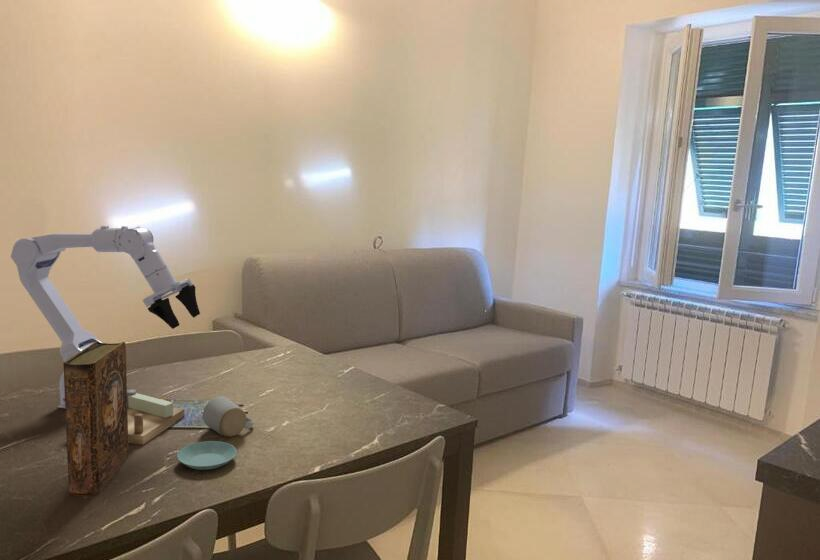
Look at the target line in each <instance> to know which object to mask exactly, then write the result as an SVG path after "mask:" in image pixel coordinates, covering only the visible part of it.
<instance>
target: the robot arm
mask: <svg viewBox="0 0 820 560" xmlns="http://www.w3.org/2000/svg"><path fill="white" fill-rule="evenodd" d="M71 248H93V249H94V250H95V251H96V252H98V253H126V254H129V256H130V257H131V258H132V260H133V261H134V263H135V264H136V266H137V267H138V269H139V271H140V272H141V274H142V275H143V277H144V279H145V280H146V282H147V283H148V285H149V286H150V288H151V290H152V292H153V293H152V294H150V295H148V296H146V297H145V298H143V299H142V302H143V303H144V305H145V306H146V307H147V310H148V311H149V313H151V314H153V315H155V316H157V317H158V318H160V320H162V321H163V322H165V323H166V324H167V326H169V327H170V328H171V329H172V330H173V329H175V328H176V329H177V327H179V326H180V322H179V320H178V317H177V316H176V315H175V313H174V310H173V308H172V306H171V305H172V304H171V301H170V298H169V297H170V296H173V295H175V294H177V293H178V294H177V295H175V298H176V299H177V300H178V301H179V302H180V303H181V304H182V305H183V306H184V307H185V309H186V310H187V311H188V313H189V315H190V316H191V317H192V318H196V317H197V316H199V315H201V312H200V309H199V305H198V302H197V296H196V295H197V294H196V286H195V284H193V283H192V281H191V279H190V278H189V277H188V278H186V279H183V280H180V281H179V280H178V281H177V279H176V278H175V277H174V276H175V275H173V273H172V271H171V270H170V268H169V267H168V265H167V264H166V262H165V260H164V259H163V257H162V255H161V253H160V252H159V250H158V249H157V247H156V246H155V244H154V235H153V233H152V231H150V230H149V229H148V228H146V227H143V226H136V227H132V228H131V227H130V228H129V227H128V226H127V225H121V227H115V228H114V227H111V228H110V227H109V225H103V226H102V225H101V226H100V227H99V228H96V229H94V230H93V231H92V232H91V233H80V232H79V233H76V232H75V233H73V232H71V233H69V232H67V233H66V232H58V233H52V234H46V235H40V236H33V237H30V238H20V239H18V240H16V241H15V243H14V245H13V247H12V249H11V254H10V258H11V259H12V261H13V262H14V264H15V266H16V268H17V272H18V277H19V280H20V283H21V285H22V286H23V287H24V289H25V291H26V292H27V293H28V295H29V297H31V299H32V300H33V302H34V303H35V304H36V306H37V308H38V309H39V310H40V312H41V314H42V315H43V317H44V318H45V319H46V321H47V322H48V324H49V325H50V327H51V328H52V329H53V331H54V333H55V334H56V335H57V336H58V338H59V340H60V341H61V345H60V349H59V354H60V355H61V357H62V360H63V362H65V361H66V360H68V359H69V358H71V357H72V356H74V355H76V354H77V353H79V352H80V351H82V350H83V349H85V348H86V347H88V346H90V345H91V344H93V343H94V342H96V341H99V343H103V342H102V341H100V340H99V339H98V338H97V337H96V335H95V334H93V333H91V332H89V331H86V330H85V329H84V328H83V326H82V325H81V324H80V323H79V321H78V320H77V318H76V316H75V315H74V314H73V312H72V310H71V309H70V307H69V306H68V305H67V303H66V302H65V300H64V299H63V297H62V296H61V295H60V293H59V292H58V290H57V289H56V287H55V285H54V284H53V283H52V281H51V280H50V278H49V274H50V272H51V271H50V270H52V267H53V266H54V265H55V263H56V262H57V260H58V258H59V257H60V255H61V253H62V252H64V251H66V249H71ZM59 400H60V404H59V405H58V406H57V407H58V408H60V409H65V388H64V372H62V374H61V376H60V378H59Z"/></svg>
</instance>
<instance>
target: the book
mask: <svg viewBox="0 0 820 560" xmlns="http://www.w3.org/2000/svg"><path fill="white" fill-rule="evenodd" d="M99 341H100V340H99ZM99 341H96V342H94V343H93V344H91V345H90V346H88V347H86V348H85V349H83V350H82V351H80V352H79V353H77V354H76V355H74V356H72V357H71V358H69V359H68V360H66V361H65V362H64V361H63V364H62V365H63V373H64V388H65V408H64V410H65V426H66V427H65V430H66V431H65V432H66V433H65V435H66V451H67V452H66V454H67V456H66V458H67V478H68V479H67V480H68V482H67V483H68V494H69V495H71V496H75V497H76V496H77V497H87V496H88V497H89V496H94V495H97V494H99V493H100V492H101V491H103V489H104V487H105V486H106V485H107V483H109V482H110V480H112V477H114V475H115V474H116V472H117V471H118V470H119V469H120V468H121V467H122V465H123V464H124V463H125V461H126V460H127V458H129V457H128V456H129V443H128V414H127V390H128V385H127V384H128V382H127V381H128V380H127V350H126V349H127V347H126V345H127V344H126V342H125V341H122V342H120V343H119V342H118V343H106V342H102V343H99Z"/></svg>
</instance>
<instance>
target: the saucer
mask: <svg viewBox="0 0 820 560" xmlns="http://www.w3.org/2000/svg"><path fill="white" fill-rule="evenodd" d="M237 453H238V450H237V448H236V447H235V446H234V445H233V444H231V443H228V442H223V441H217V440H216V441H215V440H208V441H207V440H206V441H198V442H193V443H191V444H188V445H186V446H184V447H181V449H180V450H179V451H178V452H177V454H176V458H177V460H178V461H179V462H180V463H182V464H183V465H184V466H186V467H188V468H189V469H194V470H197V471H210V470H216V469H217V468H220V467H223V466H224V465H227V464H228V463H229V462H231V461H232V460H233V459H234V458H235V457H236V456H237Z"/></svg>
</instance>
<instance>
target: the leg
mask: <svg viewBox="0 0 820 560" xmlns="http://www.w3.org/2000/svg"><path fill="white" fill-rule="evenodd" d="M173 407H174V402H172V401H168V400H164V399H161V398H157V397H152V396H149V395H147V394H141V393H139V392H137V390H136V389H127V408H132V409H135V410H139V411H142V412H146V413H149V414H153V415H156V416H160V417H164V418H167V417H169V416H172V415H173Z"/></svg>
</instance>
